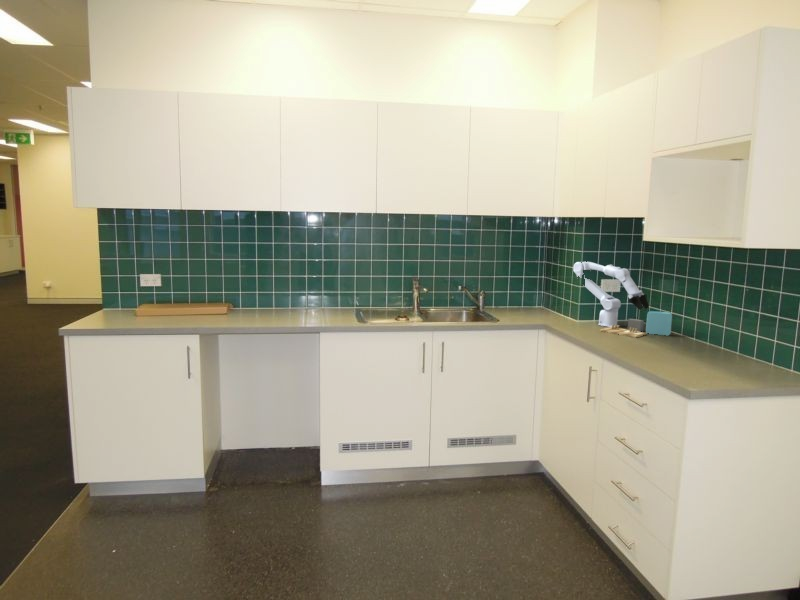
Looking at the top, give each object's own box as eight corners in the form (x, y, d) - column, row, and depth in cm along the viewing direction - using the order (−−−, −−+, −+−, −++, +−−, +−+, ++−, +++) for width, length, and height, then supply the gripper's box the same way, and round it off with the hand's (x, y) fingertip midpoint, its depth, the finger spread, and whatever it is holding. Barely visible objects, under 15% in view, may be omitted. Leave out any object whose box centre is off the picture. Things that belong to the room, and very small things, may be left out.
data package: (670, 334, 292) (672, 312, 291) (670, 336, 288) (672, 313, 286) (645, 332, 297) (647, 310, 295) (645, 333, 293) (647, 311, 291)
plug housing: (627, 329, 302) (628, 319, 301) (630, 329, 305) (631, 318, 304) (639, 332, 297) (640, 321, 296) (642, 331, 299) (643, 320, 299)
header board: (599, 331, 297) (600, 325, 296) (611, 328, 305) (611, 322, 305) (635, 337, 282) (636, 331, 281) (647, 334, 291) (647, 328, 290)
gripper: (630, 284, 294) (644, 305, 289) (642, 283, 303) (656, 303, 298) (620, 291, 298) (633, 312, 293) (632, 289, 308) (645, 310, 303)
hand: (644, 308), depth 296 cm, fingers open, 7 cm apart
